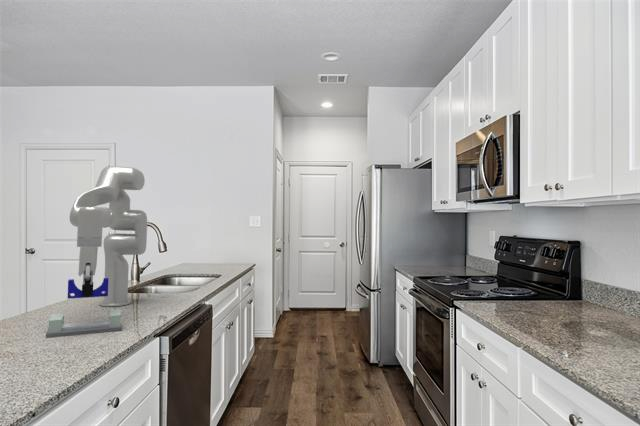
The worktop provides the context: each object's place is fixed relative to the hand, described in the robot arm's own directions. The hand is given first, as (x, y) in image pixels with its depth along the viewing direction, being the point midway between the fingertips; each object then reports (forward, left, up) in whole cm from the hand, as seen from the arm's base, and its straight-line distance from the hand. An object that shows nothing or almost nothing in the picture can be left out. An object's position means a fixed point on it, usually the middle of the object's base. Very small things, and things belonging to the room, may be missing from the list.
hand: (87, 294), depth 139 cm
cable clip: (0, 0, -1) cm, 1 cm away
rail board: (0, 0, -12) cm, 12 cm away
